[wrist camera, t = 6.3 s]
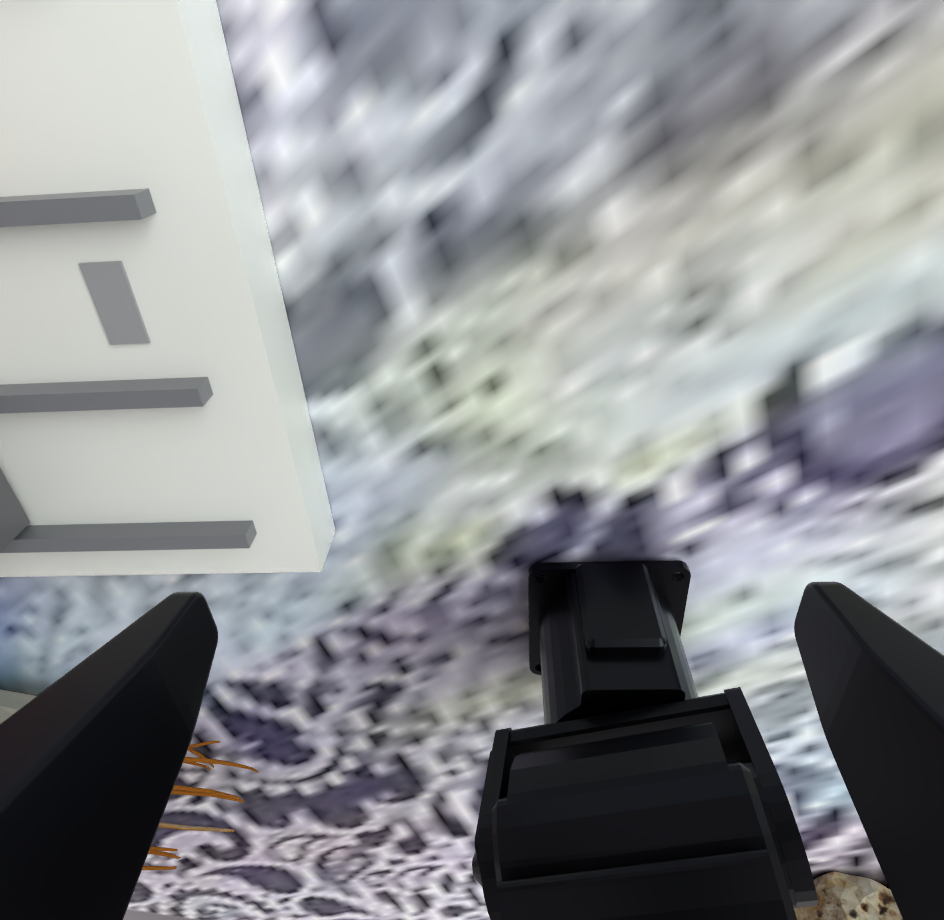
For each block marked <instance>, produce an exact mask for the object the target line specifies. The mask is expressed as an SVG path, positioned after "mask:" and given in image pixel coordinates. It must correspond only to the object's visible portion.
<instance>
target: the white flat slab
mask: <svg viewBox="0 0 944 920" xmlns="http://www.w3.org/2000/svg"><path fill="white" fill-rule="evenodd" d="M0 468H1V470H2V472H3V474H4V475H5V477H6V479H7V481H8V483H9V484H10V486H11V488H12V490H13V492H14V493H15V495H16V497H17V499H18V501H19V502H20V504H21V506H22V508H23V510H24V511H25V513H26V515H27V517H28V519H29V520H30V523H29V524H28V525H27V526H26V527H25V528H24V529H23V530H22V531H21V532H20V533H19V534H18V535H17V536H16V537H15V538H14V539H13V540H12V541H11V542H10V543H9V544H8V545H7V546H6V547H5V549H4V550H3V551H2V552H1V553H0V577H42V576H101V575H161V574H220V573H280V572H322V569H323V566H324V563H325V560H326V557H327V554H328V551H329V548H330V545H331V542H332V540H333V537H334V534H335V526H334V522H333V517H332V513H331V509H330V504H329V500H328V495H327V491H326V486H325V482H324V478H323V473H322V469H321V464H320V460H319V455H318V451H317V446H316V442H315V438H314V433H313V429H312V424H311V420H310V415H309V411H308V407H307V402H306V398H305V393H304V389H303V384H302V380H301V376H300V371H299V367H298V362H297V358H296V353H295V349H294V345H293V340H292V336H291V331H290V327H289V322H288V318H287V313H286V309H285V305H284V300H283V296H282V291H281V287H280V282H279V278H278V274H277V269H276V265H275V260H274V256H273V251H272V247H271V243H270V238H269V234H268V229H267V225H266V220H265V216H264V211H263V207H262V203H261V198H260V194H259V189H258V185H257V180H256V176H255V172H254V167H253V163H252V158H251V154H250V149H249V145H248V141H247V136H246V132H245V127H244V123H243V118H242V114H241V110H240V105H239V101H238V96H237V92H236V87H235V83H234V78H233V74H232V70H231V65H230V61H229V56H228V52H227V47H226V43H225V39H224V34H223V30H222V25H221V21H220V16H219V12H218V8H217V3H216V0H0Z"/></svg>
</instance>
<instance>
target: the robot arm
mask: <svg viewBox="0 0 944 920" xmlns="http://www.w3.org/2000/svg"><path fill="white" fill-rule="evenodd" d="M675 572H680V573H679V574H674V573H675ZM539 574H543V575H544V576H541V577H540V576H537V575H539ZM690 578H691V574H690V571H689V568H688V566H687V564H686V563H685V562H683V561H621V562H564V563H537V564H534V565H532V566H531V567H530V568H529V571H528V596H529V662H530V670H531V671H532V672H533V673H535V674H538V675H542V689H543V705H544V721H545V724H544V725H539V726H533V727H527V728H522V729H516V730H512V729H511V728H507V729H501V730H496V732H495V737H494V743H493V748H492V751H491V752H490V757H489V762H488V768H487V773H486V779H485V785H484V790H483V796H482V801H481V807H480V813H479V818H478V824H477V829H476V835H475V850H476V852H475V854H474V857H473V860H472V869H473V874H474V877H475V879H476V880H477V881H478V882H479V883H480V884H481V886H482V887H483V893H484V898H485V902H486V906H487V910H488V914H489V916H490V919H491V920H797V917H796V914H795V911H794V908H800V907H809V906H818V899H817V893H816V888H815V884H814V880H813V876H812V873H811V869H810V866H809V862H808V859H807V855H806V852H805V849H804V846H803V842H802V839H801V836H800V833H799V830H798V827H797V824H796V821H795V818H794V815H793V812H792V810H791V807H790V804H789V801H788V798H787V796H786V793H785V790H784V788H783V785H782V783H781V780H780V778H779V775H778V773H777V771H776V768H775V766H774V764H773V761H772V759H771V757H770V755H769V752H768V750H767V748H766V745H765V743H764V741H763V739H762V736H761V734H760V732H759V729H758V727H757V725H756V722H755V720H754V718H753V716H752V713H751V711H750V709H749V706H748V704H747V702H746V700H745V697H744V695H743V693H742V690H741V688H740V687H738V688H732V689H726V690H724V693H720V694H714V695H709V696H703V697H698V695H697V692H696V688H695V685H694V682H693V678H692V675H691V672H690V669H689V665H688V662H687V659H686V655H685V652H684V649H683V645H682V642H681V639H680V635H681V629H682V623H683V618H684V612H685V606H686V601H687V595H688V589H689V583H690ZM794 630H795V637H796V641H797V644H798V647H799V651H800V654H801V657H802V661H803V664H804V667H805V671H806V674H807V677H808V681H809V684H810V687H811V691H812V694H813V697H814V701H815V704H816V707H817V711H818V714H819V717H820V721H821V724H822V727H823V730H824V733H825V736H826V739H827V741H828V744H829V746H830V749H831V751H832V754H833V756H834V759H835V761H836V763H837V766H838V768H839V770H840V773H841V775H842V777H843V780H844V782H845V784H846V787H847V789H848V791H849V794H850V796H851V799H852V801H853V803H854V806H855V808H856V810H857V813H858V815H859V817H860V820H861V822H862V824H863V827H864V829H865V831H866V834H867V836H868V839H869V841H870V843H871V846H872V848H873V850H874V853H875V855H876V857H877V860H878V862H879V864H880V867H881V869H882V871H883V874H884V876H885V878H886V881H887V883H888V886H889V888H890V890H891V893H892V895H893V897H894V900H895V902H896V904H897V907H898V909H899V911H900V914H901V916H902V918H903V920H944V655H942V654H941V653H939V652H938V651H936V650H935V649H934V648H932V647H931V646H929V645H928V644H927V643H925V642H924V641H922V640H921V639H920V638H918V637H917V636H915V635H914V634H912V633H911V632H910V631H908V630H907V629H905V628H904V627H903V626H901V625H900V624H898V623H897V622H896V621H894V620H893V619H891V618H890V617H888V616H887V615H886V614H884V613H883V612H881V611H880V610H879V609H877V608H876V607H874V606H873V605H872V604H870V603H869V602H867V601H866V600H864V599H863V598H862V597H860V596H859V595H857V594H856V593H855V592H853V591H852V590H850V589H849V588H848V587H846V586H845V585H843V584H841V583H839V582H812V583H809V584H808V585H807V586H806V588H805V590H804V593H803V596H802V600H801V603H800V606H799V609H798V613H797V616H796V619H795V625H794ZM217 642H218V631H217V626H216V624H215V621H214V619H213V616H212V614H211V611H210V609H209V606H208V604H207V601H206V599H205V597H204V596H203V595H202V594H201V593H199V592H176V593H173V594H171V595H169V596H168V597H167V598H165V599H164V600H163V601H161V602H160V603H159V604H157V605H156V606H155V607H153V608H152V609H151V610H149V611H148V612H147V613H146V614H144V615H143V616H142V617H140V618H139V619H138V620H136V621H135V622H134V623H132V624H131V625H130V626H128V627H127V628H126V629H124V630H123V631H122V632H121V633H119V634H118V635H117V636H115V637H114V638H113V639H111V640H110V641H109V642H107V643H106V644H105V645H103V646H102V647H101V648H99V649H98V650H97V651H95V652H94V653H93V654H92V655H90V656H89V657H88V658H86V659H85V660H84V661H82V662H81V663H80V664H78V665H77V666H76V667H74V668H73V669H72V670H70V671H69V672H68V673H67V674H65V675H64V676H63V677H61V678H60V679H59V680H57V681H56V682H55V683H53V684H52V685H51V686H49V687H48V688H47V689H45V690H44V691H43V692H42V693H40V694H39V695H38V696H36V697H35V698H34V699H32V700H31V701H30V702H28V703H27V704H26V705H24V706H23V707H22V708H20V709H19V710H18V711H17V712H15V713H14V714H13V715H11V716H10V717H9V718H7V719H6V720H5V721H3V722H2V723H1V724H0V920H123V918H124V915H125V913H126V910H127V907H128V905H129V902H130V900H131V897H132V894H133V892H134V889H135V886H136V884H137V881H138V879H139V876H140V873H141V871H142V868H143V865H144V863H145V860H146V858H147V855H148V852H149V850H150V847H151V845H152V842H153V839H154V837H155V834H156V831H157V829H158V826H159V824H160V821H161V818H162V816H163V813H164V811H165V808H166V805H167V803H168V800H169V797H170V795H171V792H172V790H173V787H174V784H175V782H176V779H177V776H178V774H179V771H180V769H181V766H182V763H183V761H184V758H185V756H186V753H187V750H188V747H189V744H190V742H191V739H192V736H193V732H194V729H195V726H196V722H197V718H198V715H199V711H200V707H201V703H202V700H203V696H204V692H205V688H206V684H207V681H208V677H209V673H210V669H211V666H212V662H213V658H214V654H215V650H216V647H217Z"/></svg>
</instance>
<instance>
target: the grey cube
mask: <svg viewBox="0 0 944 920" xmlns="http://www.w3.org/2000/svg"><path fill="white" fill-rule="evenodd" d="M29 523H30V520H29V519H28V517H27V515H26V513H25V511H24V510H23V508H22V506H21V504H20V502H19V501H18V499H17V497H16V495H15V493H14V492H13V490H12V488H11V486H10V484H9V483H8V481H7V479H6V477H5V475H4V474H3V472H2V470H1V468H0V553H1V552H2V551H3V550H4V549H5V547H6V546H7V545H8V544H9V543H10V542H11V541H12V540H13V539H14V538H15V537H16V536H17V535H18V534H19V533H20V532H21V531H22V530H23V529H24V528H25V527H26V526H27V525H28V524H29Z"/></svg>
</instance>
